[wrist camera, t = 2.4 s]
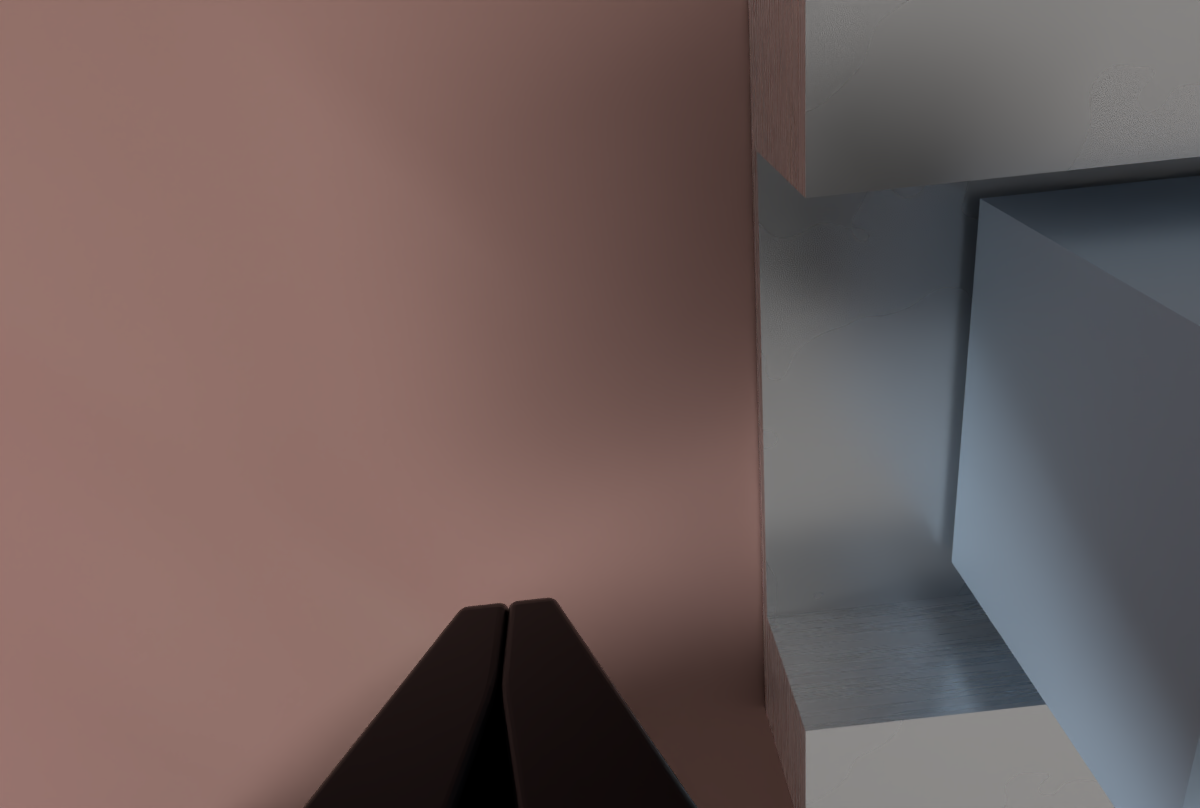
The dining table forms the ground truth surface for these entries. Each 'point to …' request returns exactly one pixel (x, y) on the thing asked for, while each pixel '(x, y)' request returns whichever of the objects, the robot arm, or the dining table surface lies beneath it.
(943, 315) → the chute
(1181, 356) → the block
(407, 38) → the dining table surface
